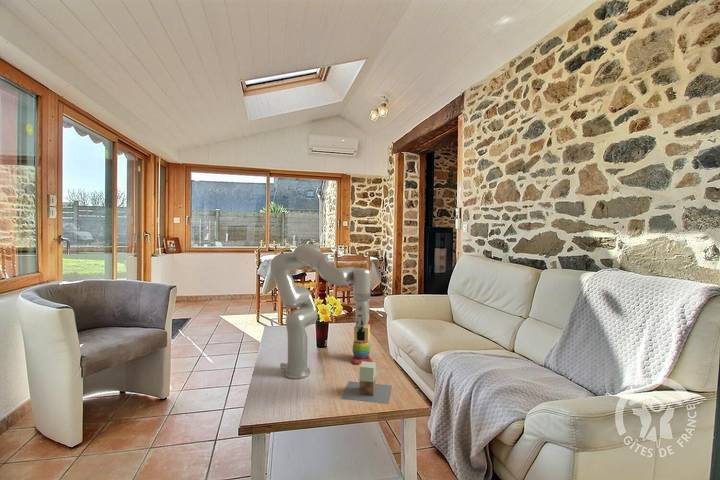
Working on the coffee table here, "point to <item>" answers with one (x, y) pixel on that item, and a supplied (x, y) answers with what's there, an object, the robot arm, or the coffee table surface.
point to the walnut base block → (367, 388)
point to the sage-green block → (367, 371)
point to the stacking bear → (361, 352)
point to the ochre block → (367, 333)
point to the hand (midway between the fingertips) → (362, 337)
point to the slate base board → (379, 396)
